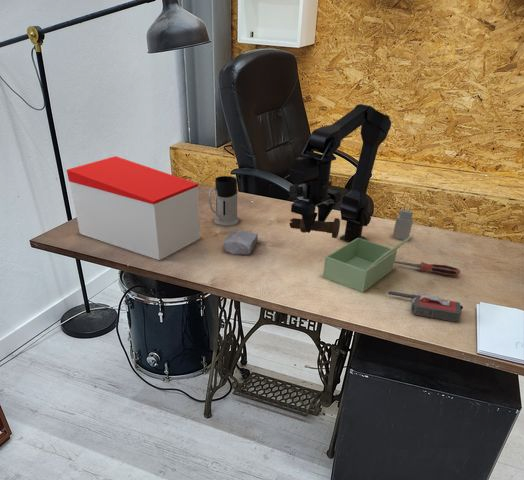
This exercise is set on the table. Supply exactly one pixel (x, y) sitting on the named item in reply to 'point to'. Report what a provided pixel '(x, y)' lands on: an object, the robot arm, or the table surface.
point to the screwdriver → (434, 268)
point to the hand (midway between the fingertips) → (313, 229)
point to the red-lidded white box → (135, 206)
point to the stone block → (240, 242)
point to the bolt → (318, 226)
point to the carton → (358, 264)
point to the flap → (390, 252)
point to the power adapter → (403, 224)
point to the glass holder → (225, 200)
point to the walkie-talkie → (433, 306)
